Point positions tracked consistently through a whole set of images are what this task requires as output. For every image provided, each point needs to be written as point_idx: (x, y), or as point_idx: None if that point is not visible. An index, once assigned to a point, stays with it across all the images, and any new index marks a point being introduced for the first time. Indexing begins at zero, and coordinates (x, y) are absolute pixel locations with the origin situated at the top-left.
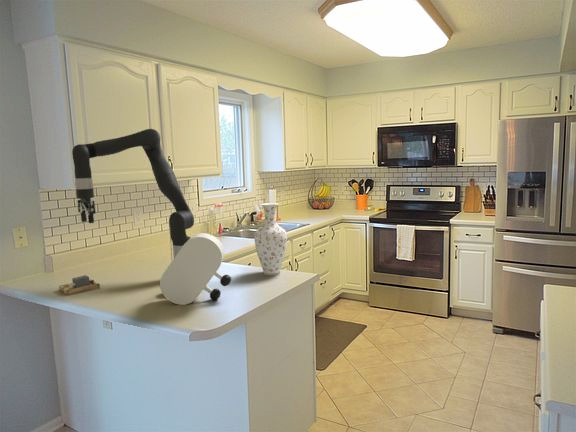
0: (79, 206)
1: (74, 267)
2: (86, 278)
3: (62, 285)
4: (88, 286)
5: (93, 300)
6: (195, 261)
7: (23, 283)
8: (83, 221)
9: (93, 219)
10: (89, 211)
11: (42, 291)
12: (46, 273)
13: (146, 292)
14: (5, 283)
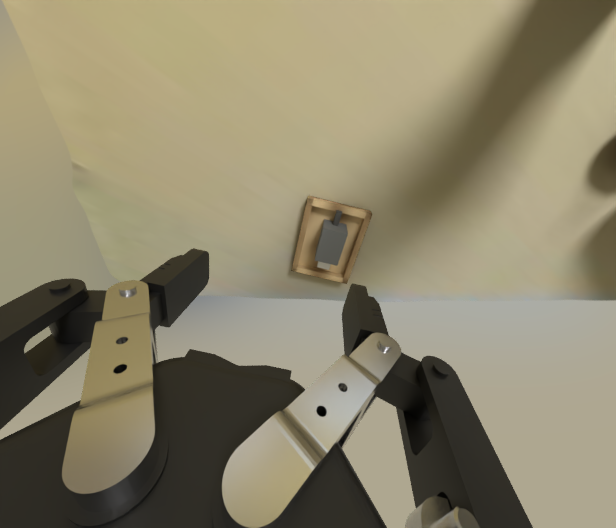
0: (25, 397)
1: (59, 92)
2: (345, 239)
3: (296, 265)
4: (362, 240)
5: (432, 273)
6: None
7: None
8: (207, 275)
9: (368, 302)
10: (413, 426)
11: (266, 283)
12: (92, 191)
13: (536, 171)
14: None
